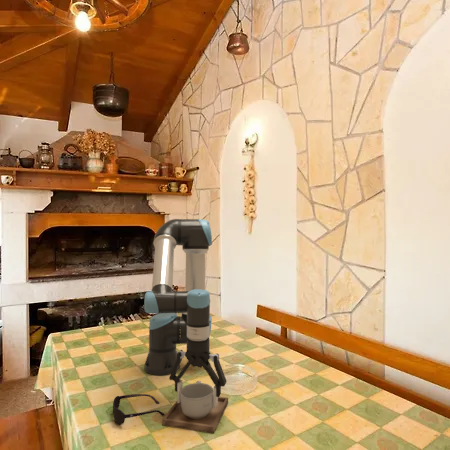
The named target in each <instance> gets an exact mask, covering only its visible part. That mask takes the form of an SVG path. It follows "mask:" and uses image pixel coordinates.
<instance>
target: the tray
mask: <svg viewBox="0 0 450 450" xmlns="http://www.w3.org/2000/svg"><path fill="white" fill-rule="evenodd" d="M228 404H229V397H227V396H226V397H224V396H219V397H218V405H217V406H216V408H212V410H211V412H210V413H209V414H207V416H205V417H203V418H201V419H192V418H189V417H188V416H186V415H185V414H184V413H183V411H182V408H181V402H180V403H177V400H176V401H175V403H173V405H172V406H171V408H169V410H168V411H167V413H165V416H163V418H162V422H161V423H162V424H161V425H162V426H164V427H172V428H177V429H178V428H179V429H183V430H184V429H185V430H191V431H196V432H198V431H199V432H202V433H203V432H204V433H209V434H210V433H211V434H215V432H216V430H217V428H218V427H219V424H220V422H221V420H222V417H223V415H224V413H225V411H226V409H227V406H228Z"/></svg>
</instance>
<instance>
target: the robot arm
mask: <svg viewBox="0 0 450 450" xmlns="http://www.w3.org/2000/svg"><path fill="white" fill-rule="evenodd" d="M212 236H213V235H212V229H211V224H210V222H209V220H206V219H200V218H197V219H195V218H194V219H193V218H190V219H189V218H188V219H187V218H186V219H183V218H181V219H180V218H173V219H169V220H168V221H166V222H164V223H163V224H162V225H161V226H159V228H158V229H157V231H156V232H155V235H154V238H153V247H154V248H155V249H154V250H155V251H154V259H153V261H154V262H153V271H152V281H151V290H149V291H146V292H145V294H144V300H143V301H144V304H143V305H144V311H145V313H147V314H155V315H153V316H151V317H150V319H149V322H148V323H149V325H148V330H149V331H148V332H149V333H148V353H147V357H146V359H145V362H144V371H145V373H147V374H148V375H153V376H167V375H169V379H168V380H170V381H174V392H177V393H176V395H177V397H176V398H177V399H176V401H177V403H180V402H181V398H180V390H181V389H182V388H183V379H182V377H183V376H184V374H185V373H186V372H187V371H188V369H189V368H190V367H191V366H192V367H193V368H195V367H198V368H203V369H204V371H206V373H207V374H208V376H209V378H210V380H211V381H212V383H213V384H214V386H213V408H216V406H217V405H218V397H221V394H222V387H225V385H226V384H227V381H228V380H227V379H226V375H225V373H224V371H223V368H222V365H221V362H220V354H219V353H215V354H211V353H210V336H211V331H212V319H213V317H212V316H211V315H210V311H211V310H210V309H211V295H210V294H211V293H210V292H209V290H206V253H207V252H208V251H209V250H210V249H209V246H210V247H211V246H212V244H213V238H212ZM177 246H182V248H181V249H182V251H183V253H185V290H184V291H183V290H182V291H178V290H177V291H176V290H175V291H174V290H173V285H174V284H173V281H174V257H175V256H174V255H175V254H174V253H175V249H176V247H177ZM178 314H181V315H180V316H178ZM181 344H182V345H183V344H184V345H185V344H186V351H184V350H182V349H180V350H179V351H178V350H177V345H181ZM184 358H186V361H187V362H186V364H185V365H184V367H183V368H182V369H181V363H182V361H183V359H184ZM209 360H211V362H213V365H214V368H215V370H214V369H213V367H212V365H211V362H210V361H209ZM180 369H181V371H180V372H179V373H178V371H179V370H180ZM177 373H178V374H177Z"/></svg>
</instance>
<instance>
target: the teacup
mask: <svg viewBox="0 0 450 450" xmlns="http://www.w3.org/2000/svg"><path fill="white" fill-rule="evenodd" d="M213 389H214V386H212V385H210V384H209V383H203V382H202V381H201V380H197V381H196V382H195V383H194V382H193V383H189V384H186V385H185V386H182V389H181V390H180V398H181V408H182V411H183V413H184V414H185V415H186V416H188V417H189V418H192V419H201V418H203V417H205V416H207V414H209V413H210V412H211V410H212V408H213Z"/></svg>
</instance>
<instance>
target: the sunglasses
mask: <svg viewBox="0 0 450 450" xmlns="http://www.w3.org/2000/svg"><path fill="white" fill-rule="evenodd" d="M136 397H149V398H151V399H152V400H153V402H154V403H155V404H156V405H159V404H160V402H159V401H158V399H156V398H155V396H152V395H150V394H148V393H134V394H132V393H131V394H126V395H125V394H124V395H117V396H115V397H114V399H113V403H112V411H113V412H112V415H113V419H114V423H115V424H116V425H117V426H122V425H124V423H125V422H126V421H125V420H126V419H129V418H130V419H131V418H134V417H139V416H140V417H141V416H145V415H149V414H152V413H153V414H154V413H158V414H160V416H162V417H165V415H166V413H164V412H163V411H161V410H158V409H154V410H150V411H149V410H148V411H143V412H136V413H135V412H134V413H127V414H125V413H124V412H123V411H122V410H120V408H119V407H120V404H121V400H123V399H130V398H136Z"/></svg>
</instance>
